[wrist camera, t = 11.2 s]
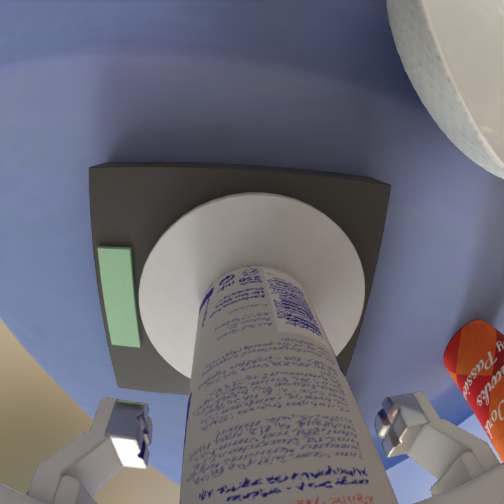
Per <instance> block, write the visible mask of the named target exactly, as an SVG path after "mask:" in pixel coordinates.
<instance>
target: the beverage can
mask: <svg viewBox="0 0 504 504" xmlns="http://www.w3.org/2000/svg"><path fill="white" fill-rule="evenodd" d="M180 504H398V501H397V499H396V496H395V494H394V491H393V489H392V486H391V484H390V481H389V479H388V476H387V474H386V471H385V469H384V466H383V464H382V462H381V459H380V457H379V454H378V452H377V450H376V447H375V445H374V442H373V440H372V438H371V435H370V433H369V431H368V428H367V426H366V424H365V421H364V419H363V417H362V414H361V412H360V410H359V407H358V405H357V403H356V400H355V398H354V396H353V394H352V391H351V389H350V387H349V384H348V382H347V380H346V378H345V375H344V373H343V371H342V369H341V366H340V364H339V362H338V360H337V358H336V355H335V353H334V351H333V349H332V347H331V344H330V342H329V340H328V338H327V336H326V333H325V331H324V329H323V327H322V325H321V323H320V320H319V318H318V316H317V314H316V312H315V310H314V308H313V305H312V303H311V301H310V299H309V297H308V295H307V293H306V291H305V289H304V288H303V286H302V285H301V284H300V283H299V282H298V281H297V280H296V279H295V278H294V277H292V276H291V275H289V274H288V273H286V272H284V271H281V270H279V269H276V268H272V267H265V266H250V267H244V268H240V269H237V270H234V271H231V272H229V273H227V274H225V275H224V276H222V277H221V278H219V279H218V280H217V281H216V282H214V283H213V284H212V285H211V286H210V288H209V289H208V290H207V291H206V293H205V295H204V296H203V298H202V301H201V304H200V308H199V317H198V324H197V332H196V339H195V347H194V355H193V364H192V372H191V381H190V390H189V399H188V409H187V419H186V429H185V440H184V451H183V463H182V475H181V489H180Z"/></svg>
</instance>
